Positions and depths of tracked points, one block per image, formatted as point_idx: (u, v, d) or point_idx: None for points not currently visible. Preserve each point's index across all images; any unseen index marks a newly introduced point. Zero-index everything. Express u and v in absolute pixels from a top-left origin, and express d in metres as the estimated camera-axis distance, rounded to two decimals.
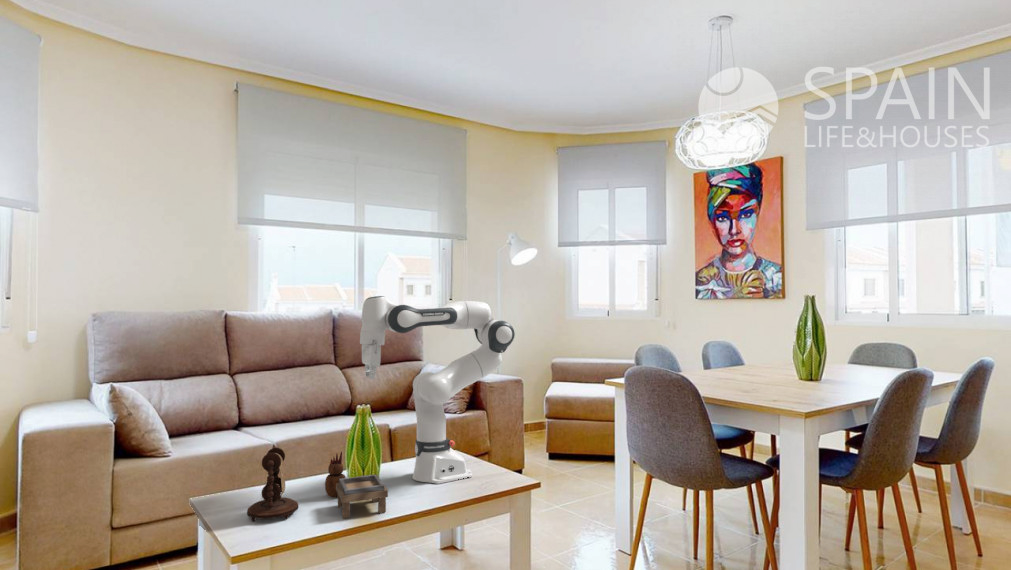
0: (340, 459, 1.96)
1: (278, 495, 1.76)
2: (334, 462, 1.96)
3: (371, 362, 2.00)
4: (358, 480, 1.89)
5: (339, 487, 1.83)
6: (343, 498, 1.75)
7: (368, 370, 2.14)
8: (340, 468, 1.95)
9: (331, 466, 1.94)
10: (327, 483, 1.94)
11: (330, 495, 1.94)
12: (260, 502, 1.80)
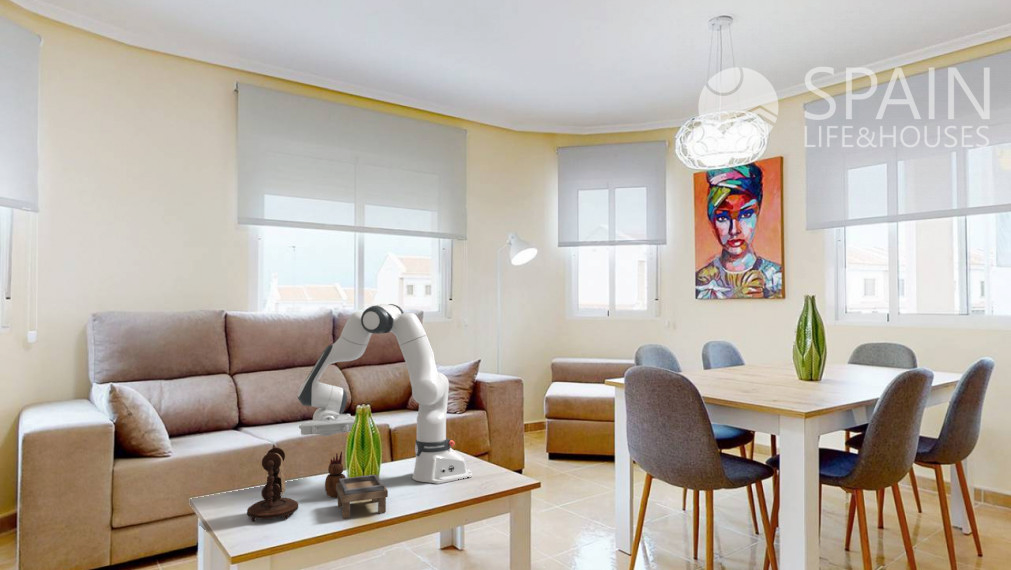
0: (340, 459, 1.96)
1: (278, 495, 1.76)
2: (334, 462, 1.96)
3: (301, 433, 2.09)
4: (358, 480, 1.89)
5: (339, 487, 1.83)
6: (343, 498, 1.75)
7: None
8: (340, 468, 1.95)
9: (331, 466, 1.94)
10: (327, 483, 1.94)
11: (330, 495, 1.94)
12: (260, 502, 1.80)
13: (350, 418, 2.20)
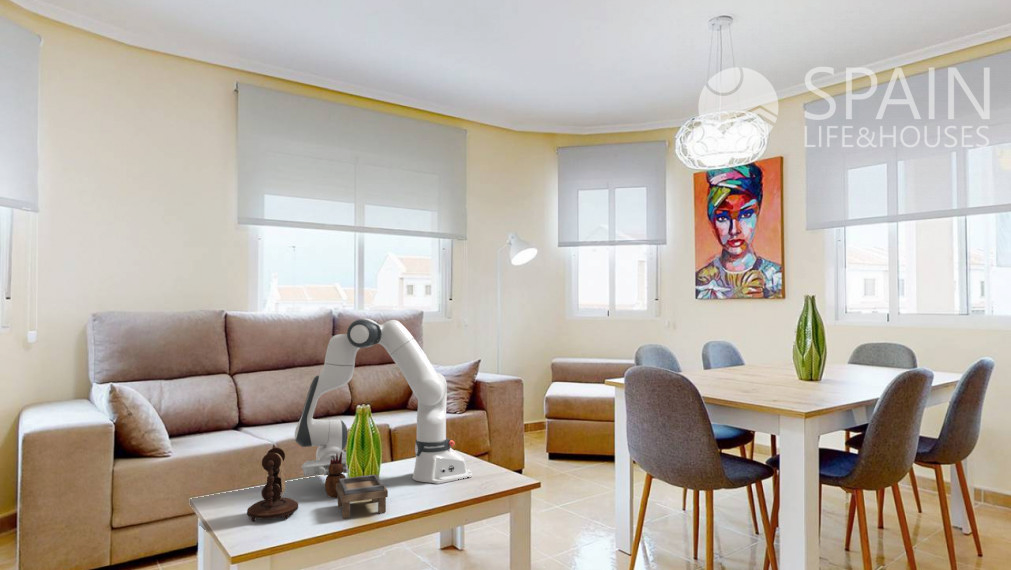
0: (340, 459, 1.96)
1: (278, 495, 1.76)
2: (334, 462, 1.96)
3: None
4: (358, 480, 1.89)
5: (339, 487, 1.83)
6: (343, 498, 1.75)
7: None
8: (340, 468, 1.95)
9: (331, 465, 1.94)
10: (327, 483, 1.94)
11: (330, 495, 1.94)
12: (260, 502, 1.80)
13: None
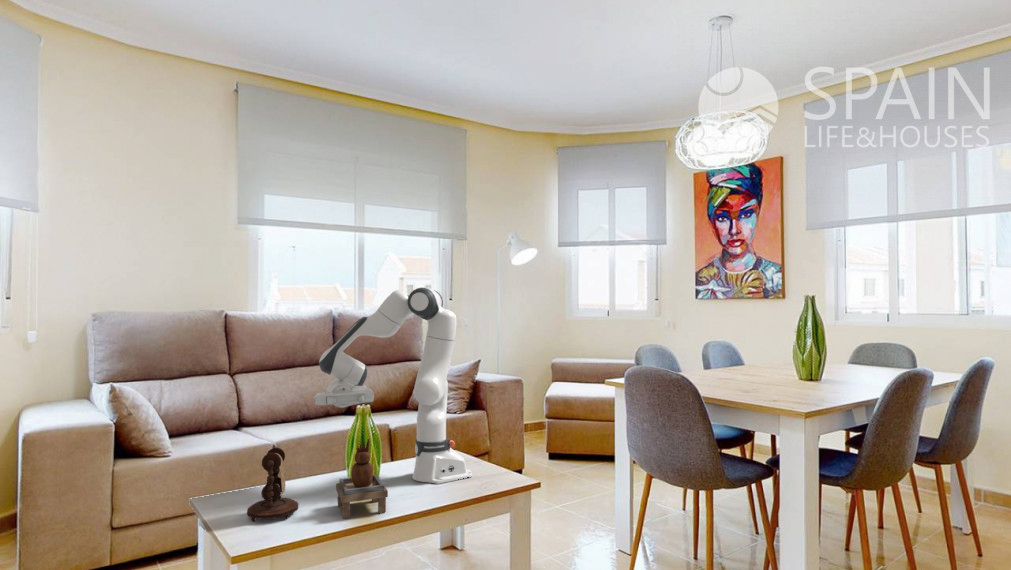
0: (367, 447, 1.85)
1: (278, 495, 1.76)
2: (361, 450, 1.84)
3: None
4: None
5: (339, 487, 1.83)
6: (343, 498, 1.75)
7: None
8: (367, 456, 1.83)
9: (358, 454, 1.83)
10: (354, 472, 1.82)
11: (357, 485, 1.82)
12: (260, 502, 1.80)
13: (366, 389, 2.12)
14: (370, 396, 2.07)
